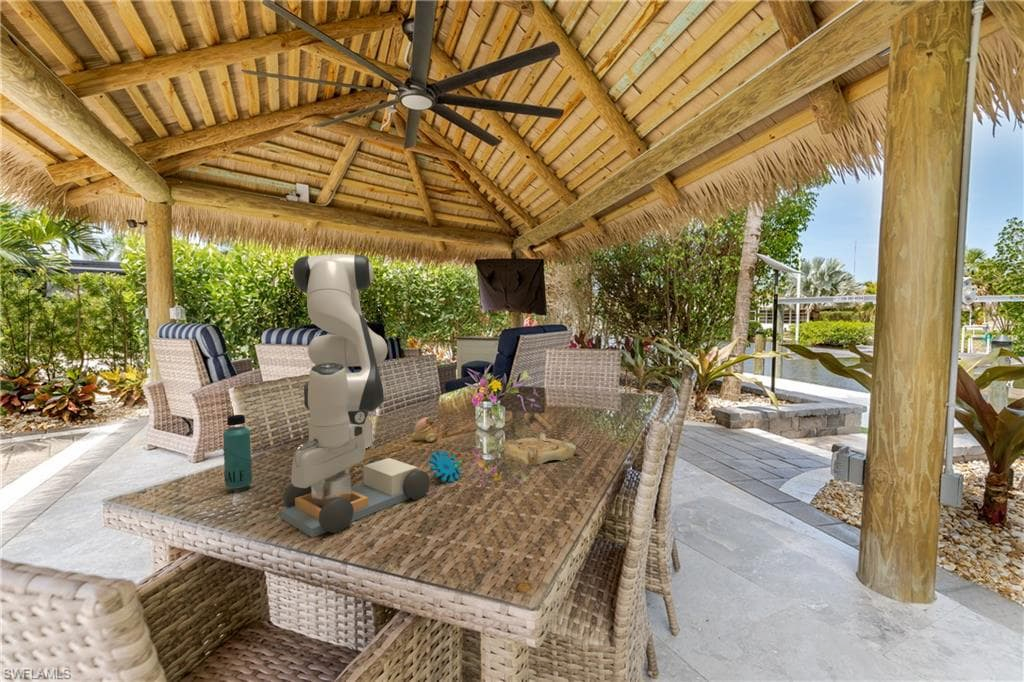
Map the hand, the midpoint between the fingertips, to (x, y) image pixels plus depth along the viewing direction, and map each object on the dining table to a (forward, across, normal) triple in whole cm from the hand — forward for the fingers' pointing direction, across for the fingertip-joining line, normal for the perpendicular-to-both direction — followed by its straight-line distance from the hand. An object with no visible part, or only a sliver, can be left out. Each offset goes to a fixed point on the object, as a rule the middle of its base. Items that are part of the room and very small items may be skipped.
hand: (331, 492), depth 109 cm
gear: (+6, +30, -14) cm, 33 cm away
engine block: (+2, 0, 0) cm, 2 cm away
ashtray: (+6, +61, -32) cm, 69 cm away
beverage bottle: (+6, +3, +34) cm, 34 cm away
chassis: (+5, +7, -2) cm, 9 cm away
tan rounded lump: (+6, +60, +12) cm, 62 cm away
